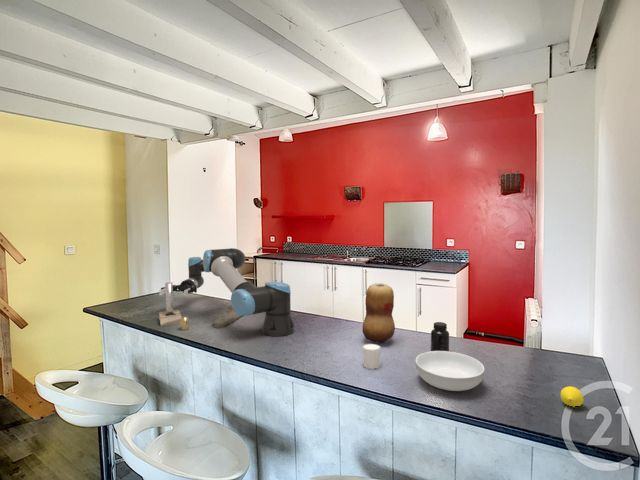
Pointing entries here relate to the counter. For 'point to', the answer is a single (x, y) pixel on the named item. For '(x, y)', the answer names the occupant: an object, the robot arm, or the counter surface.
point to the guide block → (170, 318)
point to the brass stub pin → (184, 323)
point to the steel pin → (169, 299)
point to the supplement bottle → (440, 337)
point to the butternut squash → (379, 313)
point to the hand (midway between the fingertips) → (172, 293)
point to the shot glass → (371, 355)
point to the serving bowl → (449, 370)
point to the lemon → (572, 396)
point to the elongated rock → (226, 318)
